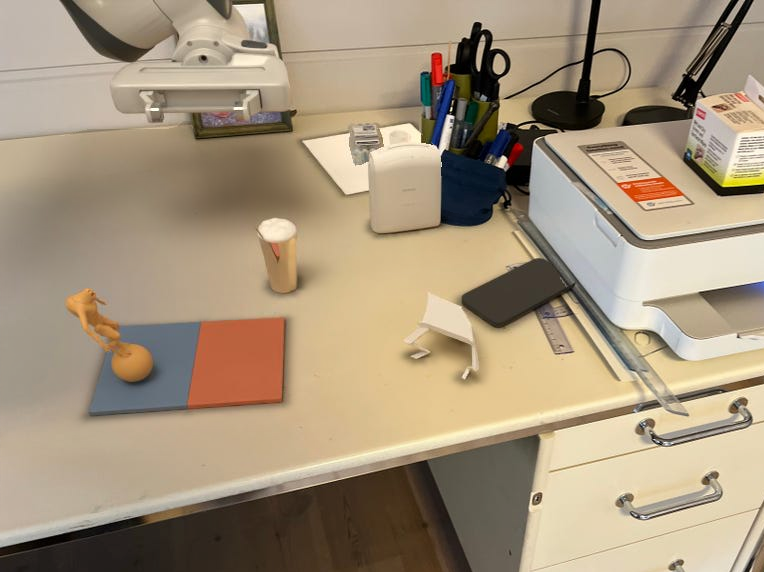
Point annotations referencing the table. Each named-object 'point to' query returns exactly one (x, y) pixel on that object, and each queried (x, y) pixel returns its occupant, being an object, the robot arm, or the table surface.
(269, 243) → the milkshake
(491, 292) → the phone
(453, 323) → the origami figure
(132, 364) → the figurine
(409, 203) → the photo printer
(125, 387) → the sorting board
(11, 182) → the table surface
